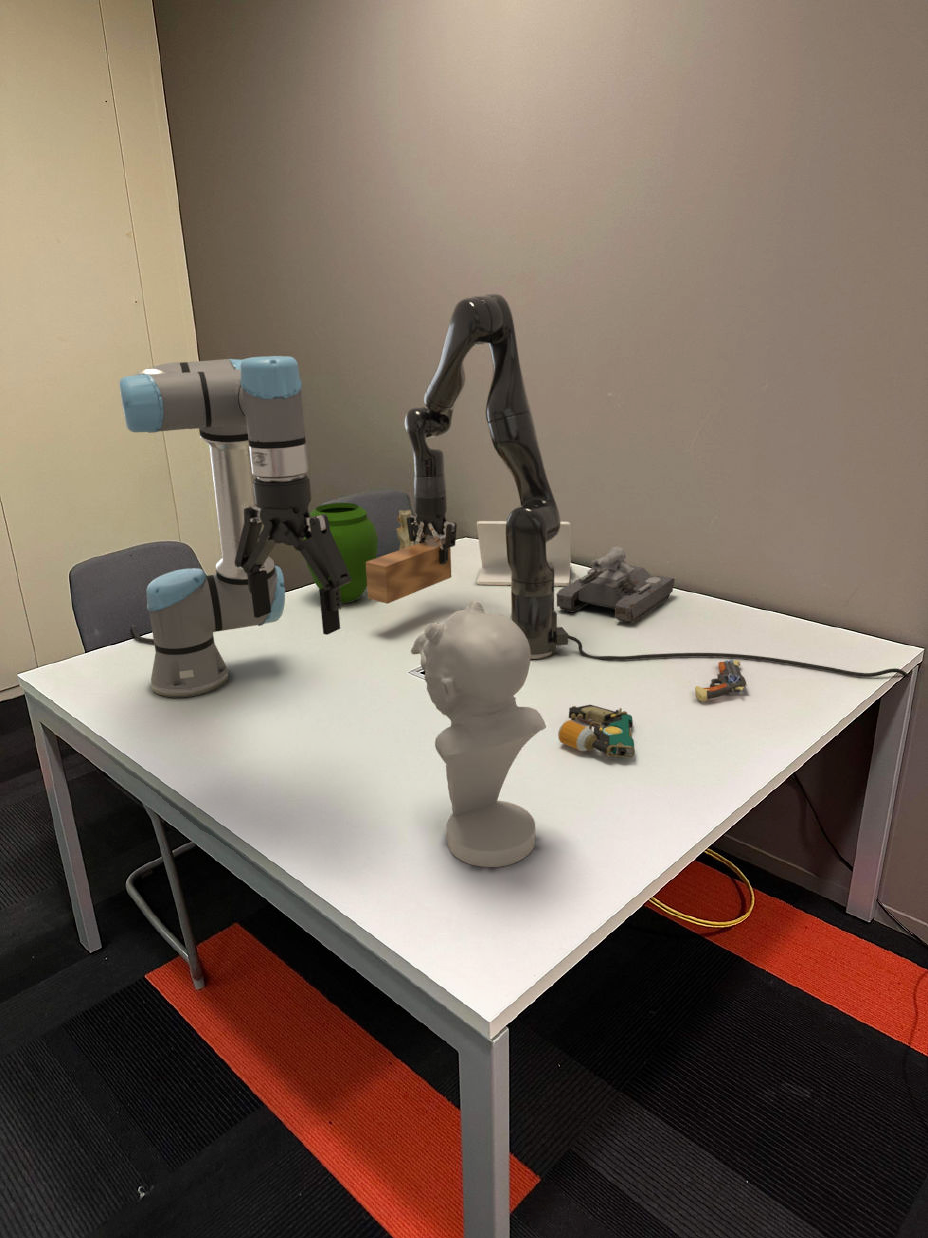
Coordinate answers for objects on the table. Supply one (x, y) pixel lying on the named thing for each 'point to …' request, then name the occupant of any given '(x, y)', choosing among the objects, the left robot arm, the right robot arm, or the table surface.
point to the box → (406, 571)
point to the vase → (350, 544)
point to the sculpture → (404, 529)
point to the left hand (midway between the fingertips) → (296, 623)
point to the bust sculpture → (481, 729)
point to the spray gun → (599, 731)
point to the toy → (616, 588)
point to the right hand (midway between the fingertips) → (432, 561)
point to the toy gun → (723, 682)
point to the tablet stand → (496, 554)
